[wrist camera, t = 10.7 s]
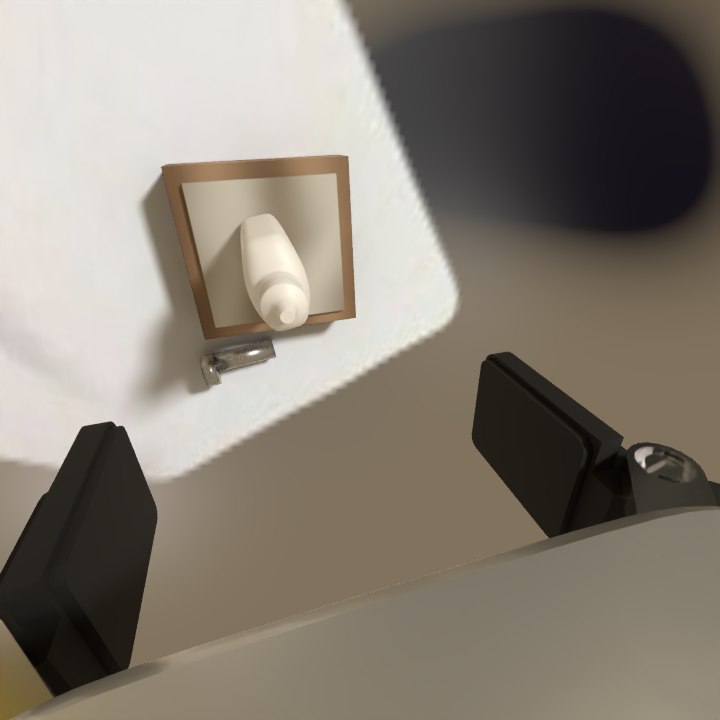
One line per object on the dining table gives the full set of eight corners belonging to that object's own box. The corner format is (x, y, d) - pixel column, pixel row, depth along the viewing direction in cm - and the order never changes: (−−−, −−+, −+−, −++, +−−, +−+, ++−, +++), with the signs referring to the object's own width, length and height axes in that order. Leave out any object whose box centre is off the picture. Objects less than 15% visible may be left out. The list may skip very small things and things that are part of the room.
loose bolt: (202, 356, 35) (210, 384, 35) (198, 358, 32) (207, 389, 33) (270, 339, 36) (278, 366, 37) (271, 340, 34) (279, 369, 34)
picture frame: (207, 324, 33) (204, 341, 30) (167, 164, 27) (160, 167, 25) (347, 305, 36) (357, 319, 33) (338, 154, 30) (349, 156, 27)
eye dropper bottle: (230, 285, 29) (228, 363, 19) (244, 205, 27) (250, 245, 17) (289, 297, 31) (317, 375, 20) (307, 223, 28) (348, 269, 18)
